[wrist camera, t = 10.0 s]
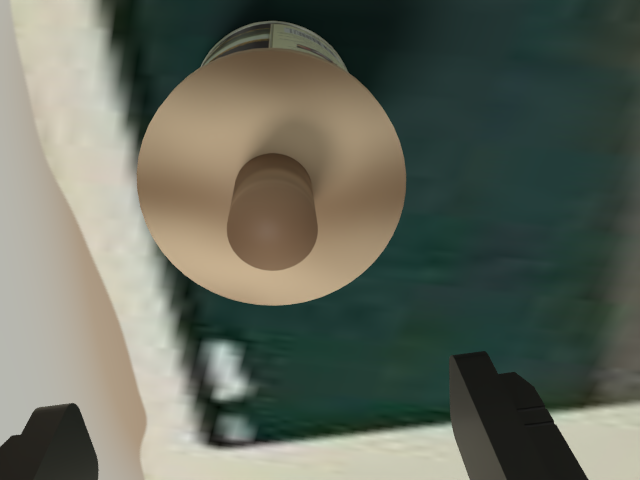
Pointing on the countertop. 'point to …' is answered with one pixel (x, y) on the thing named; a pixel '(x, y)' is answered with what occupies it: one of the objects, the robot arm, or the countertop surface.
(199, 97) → the lid
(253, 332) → the countertop surface
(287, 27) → the coffee can
